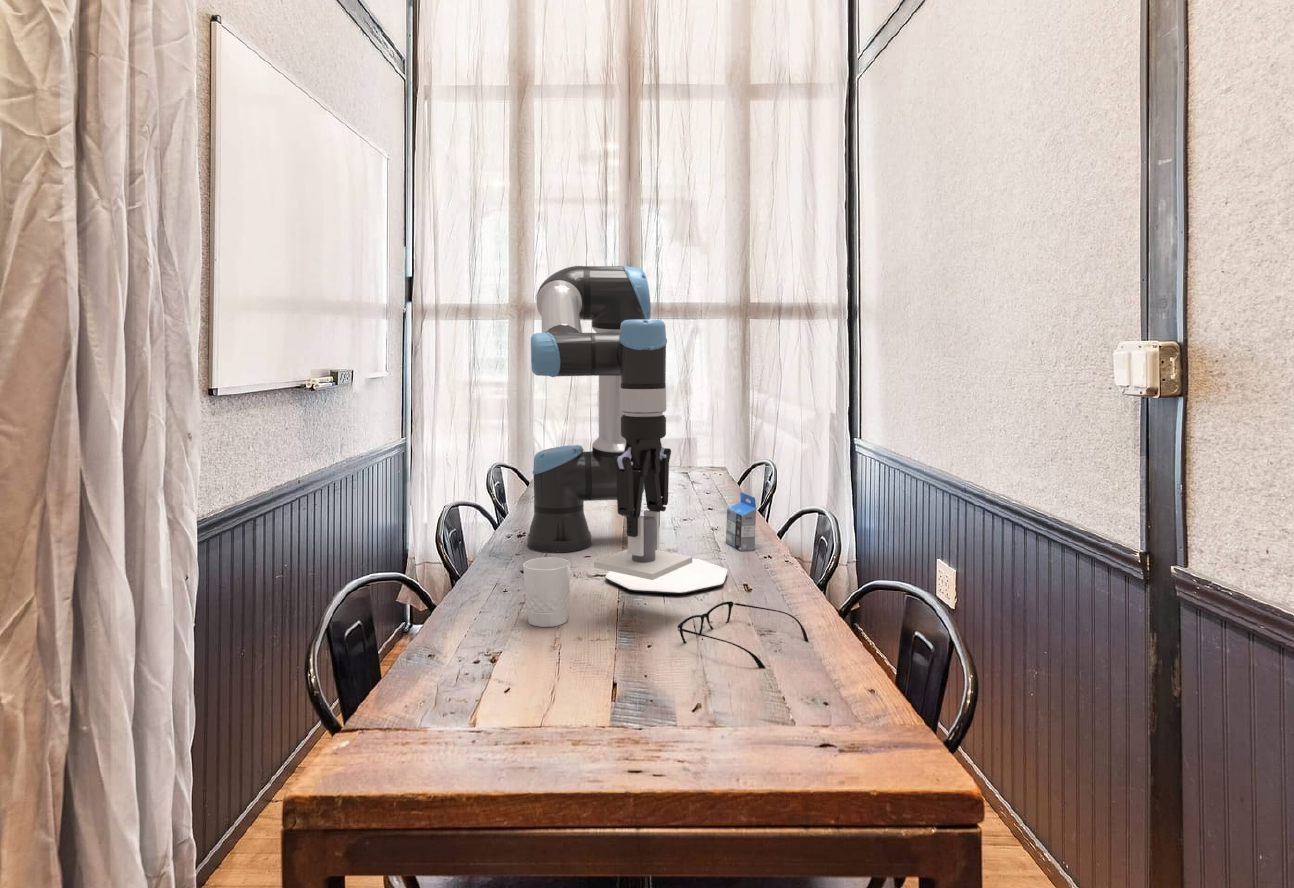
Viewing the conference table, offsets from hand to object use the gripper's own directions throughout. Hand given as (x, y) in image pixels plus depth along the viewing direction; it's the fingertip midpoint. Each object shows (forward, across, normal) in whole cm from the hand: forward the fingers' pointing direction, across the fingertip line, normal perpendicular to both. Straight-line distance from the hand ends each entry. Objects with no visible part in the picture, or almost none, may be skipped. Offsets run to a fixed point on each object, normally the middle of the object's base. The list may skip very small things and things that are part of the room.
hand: (643, 551), depth 129 cm
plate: (+13, -22, -10) cm, 27 cm away
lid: (+2, 0, 0) cm, 2 cm away
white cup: (+12, +10, -13) cm, 20 cm away
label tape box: (+13, -53, -10) cm, 55 cm away
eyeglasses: (+12, 0, +20) cm, 23 cm away
